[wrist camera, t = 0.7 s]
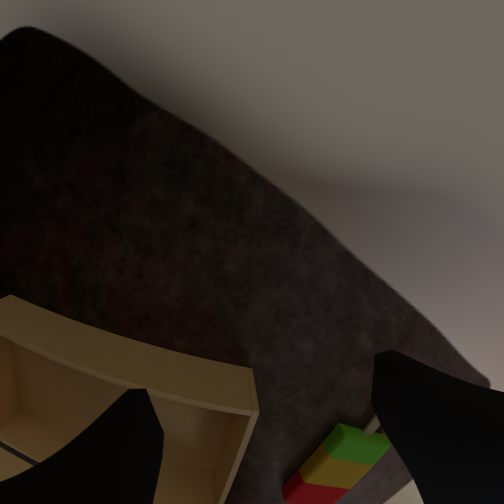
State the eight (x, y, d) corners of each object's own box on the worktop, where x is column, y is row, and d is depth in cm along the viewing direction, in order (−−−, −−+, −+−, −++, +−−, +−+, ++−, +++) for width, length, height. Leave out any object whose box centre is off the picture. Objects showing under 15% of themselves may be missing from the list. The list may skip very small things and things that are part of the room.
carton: (218, 472, 20) (218, 516, 15) (18, 406, 18) (-8, 435, 13) (252, 368, 19) (259, 411, 14) (10, 294, 17) (-31, 312, 12)
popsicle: (275, 489, 21) (278, 504, 19) (380, 359, 20) (391, 371, 18) (324, 497, 22) (328, 510, 20) (425, 378, 21) (437, 389, 19)
